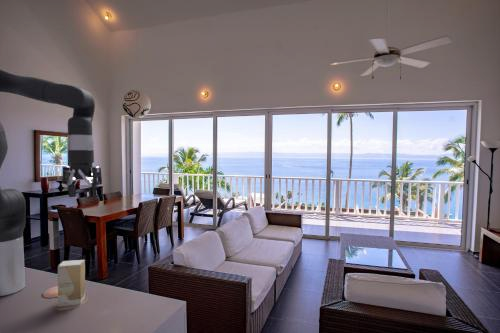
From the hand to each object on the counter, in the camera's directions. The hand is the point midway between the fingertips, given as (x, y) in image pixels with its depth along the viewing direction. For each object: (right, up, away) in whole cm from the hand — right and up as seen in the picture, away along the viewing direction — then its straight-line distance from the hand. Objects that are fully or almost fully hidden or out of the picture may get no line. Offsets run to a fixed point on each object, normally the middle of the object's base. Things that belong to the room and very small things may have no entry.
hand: (82, 197), depth 97 cm
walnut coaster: (+2, -31, -10) cm, 33 cm away
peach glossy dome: (-6, -31, -3) cm, 31 cm away
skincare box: (+3, -31, -10) cm, 32 cm away
